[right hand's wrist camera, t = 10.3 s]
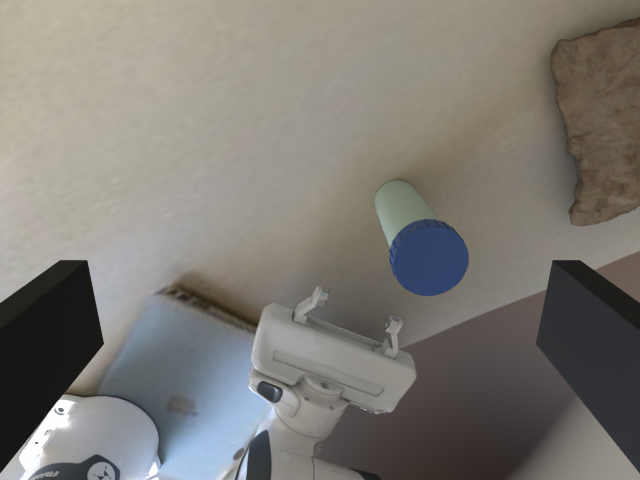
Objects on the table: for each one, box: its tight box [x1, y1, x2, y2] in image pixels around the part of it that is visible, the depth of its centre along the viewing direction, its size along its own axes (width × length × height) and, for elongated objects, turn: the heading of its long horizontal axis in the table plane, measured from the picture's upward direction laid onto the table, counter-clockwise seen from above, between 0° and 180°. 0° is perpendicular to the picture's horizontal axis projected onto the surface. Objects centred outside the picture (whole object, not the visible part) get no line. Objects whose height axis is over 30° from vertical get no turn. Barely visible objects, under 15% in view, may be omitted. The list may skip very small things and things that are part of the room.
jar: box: [374, 180, 440, 248], centre depth 46 cm, size 5×5×18 cm
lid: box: [389, 219, 468, 296], centre depth 38 cm, size 6×6×2 cm
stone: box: [551, 17, 640, 226], centre depth 48 cm, size 21×15×6 cm
